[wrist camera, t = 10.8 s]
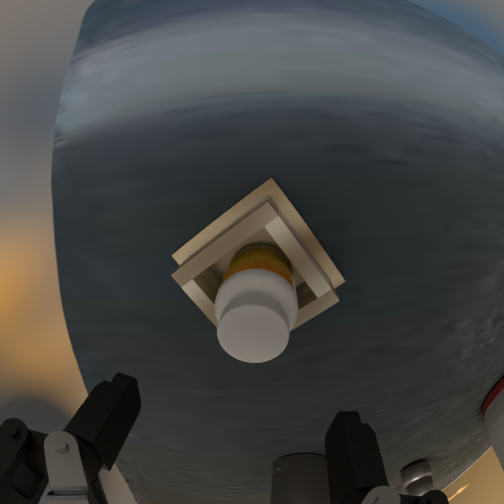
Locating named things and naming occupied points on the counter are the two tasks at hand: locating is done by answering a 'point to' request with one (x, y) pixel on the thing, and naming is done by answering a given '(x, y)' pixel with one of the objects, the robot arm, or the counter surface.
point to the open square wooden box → (258, 230)
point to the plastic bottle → (417, 479)
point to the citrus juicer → (495, 419)
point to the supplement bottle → (256, 303)
